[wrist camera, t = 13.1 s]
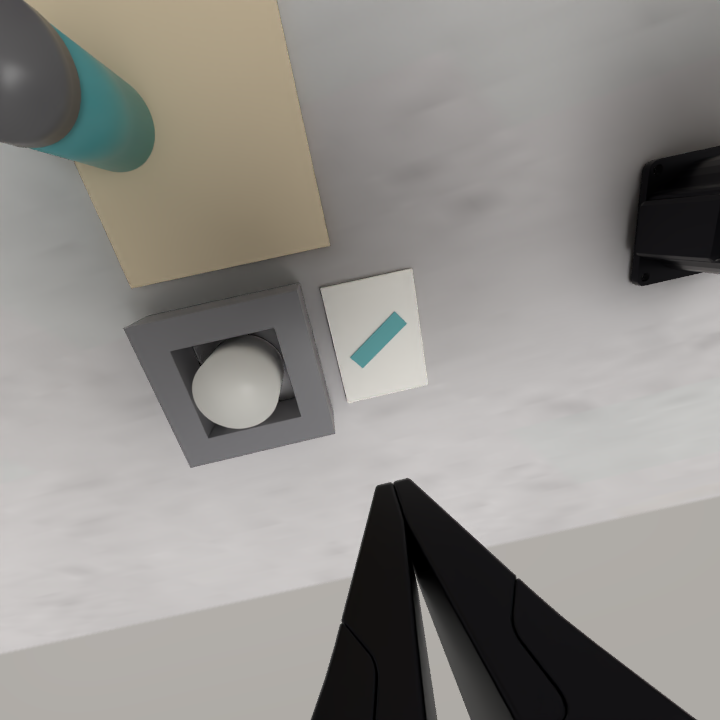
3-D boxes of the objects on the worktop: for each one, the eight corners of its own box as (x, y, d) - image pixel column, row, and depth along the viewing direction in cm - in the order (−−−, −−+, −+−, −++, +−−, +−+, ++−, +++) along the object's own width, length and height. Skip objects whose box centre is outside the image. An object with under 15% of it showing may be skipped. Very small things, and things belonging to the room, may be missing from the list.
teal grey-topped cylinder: (133, 61, 14) (5, -56, 8) (170, 164, 15) (83, 125, 9) (40, 79, 14) (-155, -27, 8) (86, 181, 15) (-52, 152, 9)
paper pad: (241, -158, 12) (239, -170, 12) (329, 245, 17) (330, 245, 17) (-42, -110, 12) (-54, -121, 11) (135, 287, 17) (131, 288, 17)
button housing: (299, 282, 18) (296, 290, 16) (333, 411, 21) (335, 433, 19) (148, 316, 18) (123, 328, 15) (204, 442, 21) (190, 467, 18)
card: (410, 268, 18) (412, 268, 18) (426, 382, 21) (428, 385, 20) (320, 288, 18) (320, 289, 18) (347, 401, 21) (347, 404, 20)
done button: (272, 327, 18) (264, 345, 16) (292, 391, 20) (288, 418, 17) (199, 344, 18) (178, 364, 15) (225, 407, 20) (210, 436, 17)
